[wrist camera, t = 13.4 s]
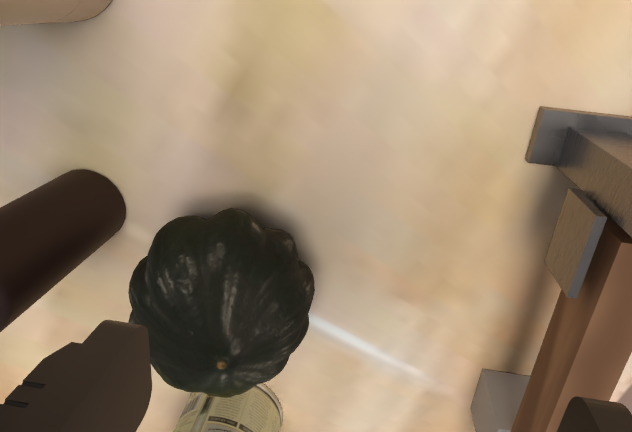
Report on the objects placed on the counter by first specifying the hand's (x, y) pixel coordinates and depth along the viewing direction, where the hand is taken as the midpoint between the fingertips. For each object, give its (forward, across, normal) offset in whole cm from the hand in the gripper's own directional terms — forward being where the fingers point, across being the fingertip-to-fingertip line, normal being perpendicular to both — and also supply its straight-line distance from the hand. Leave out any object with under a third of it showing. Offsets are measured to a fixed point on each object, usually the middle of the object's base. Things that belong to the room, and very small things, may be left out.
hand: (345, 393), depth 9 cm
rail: (+23, -16, +17) cm, 33 cm away
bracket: (+30, -16, +4) cm, 34 cm away
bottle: (+30, +24, +12) cm, 40 cm away
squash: (+30, +10, +16) cm, 36 cm away
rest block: (+30, -16, +26) cm, 43 cm away
